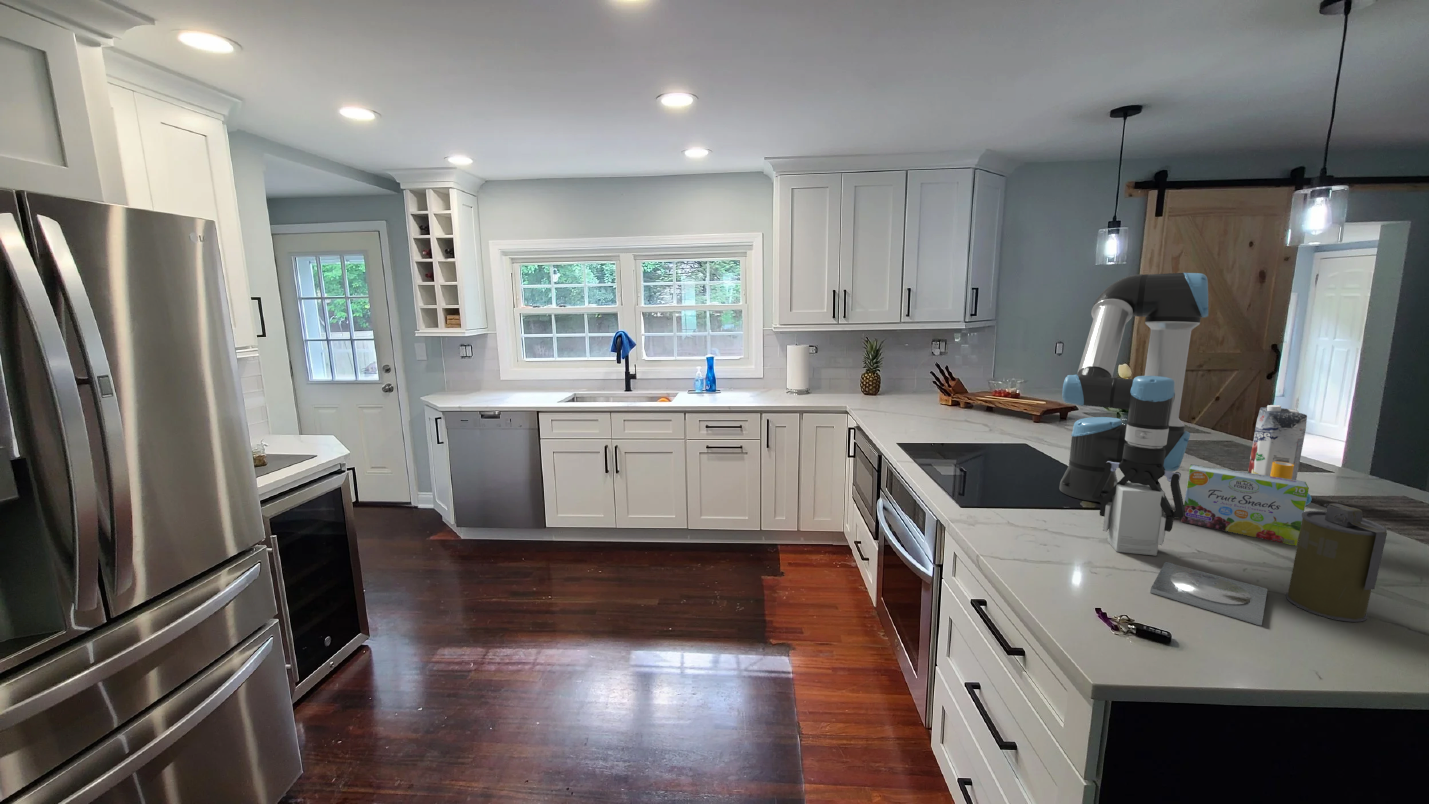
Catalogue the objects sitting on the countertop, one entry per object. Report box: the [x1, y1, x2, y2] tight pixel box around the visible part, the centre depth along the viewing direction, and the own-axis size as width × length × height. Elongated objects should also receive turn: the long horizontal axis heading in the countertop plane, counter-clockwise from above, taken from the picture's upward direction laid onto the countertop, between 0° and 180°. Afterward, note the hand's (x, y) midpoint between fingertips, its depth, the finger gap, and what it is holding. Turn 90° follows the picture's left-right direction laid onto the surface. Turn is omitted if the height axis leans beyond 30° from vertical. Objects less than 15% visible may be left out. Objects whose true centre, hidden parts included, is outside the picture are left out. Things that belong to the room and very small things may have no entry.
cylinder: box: [1270, 461, 1312, 506], centre depth 145 cm, size 12×10×15 cm
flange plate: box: [1150, 561, 1268, 627], centre depth 110 cm, size 16×16×1 cm
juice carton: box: [1247, 404, 1308, 480], centre depth 160 cm, size 9×10×27 cm
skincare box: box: [1107, 481, 1166, 556], centre depth 128 cm, size 8×7×16 cm
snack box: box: [1180, 464, 1310, 547], centre depth 137 cm, size 21×6×15 cm, turn 47°
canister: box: [1285, 503, 1388, 623], centre depth 102 cm, size 11×10×20 cm
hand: (1132, 536), depth 129 cm, fingers closed on skincare box, 10 cm apart
